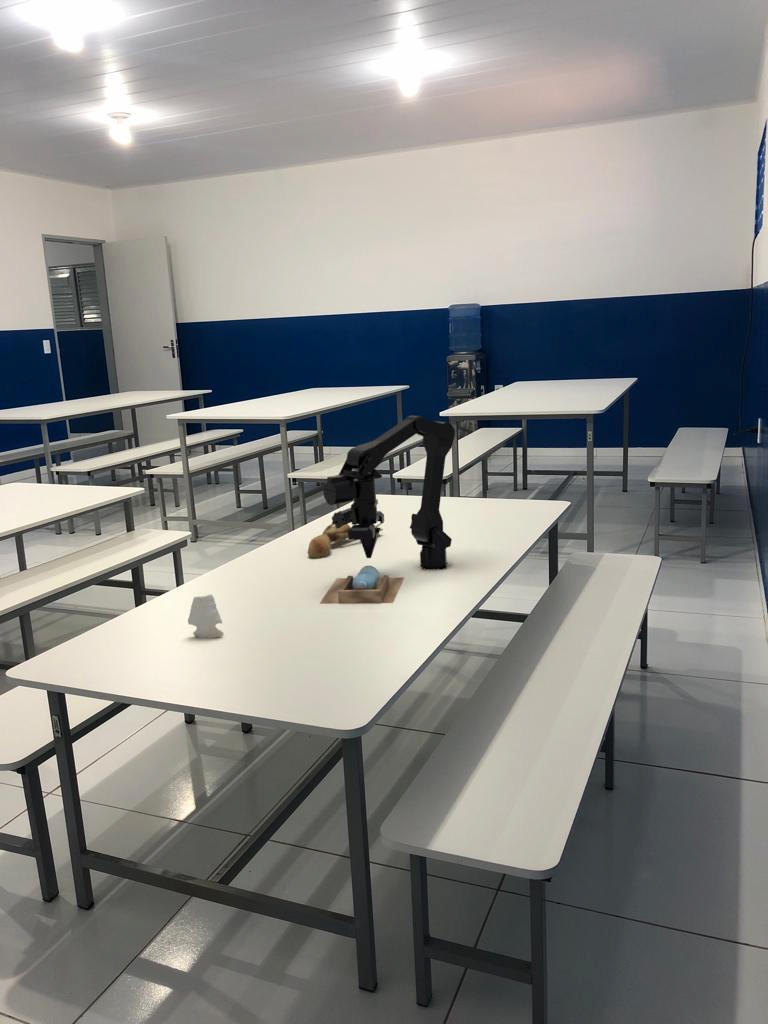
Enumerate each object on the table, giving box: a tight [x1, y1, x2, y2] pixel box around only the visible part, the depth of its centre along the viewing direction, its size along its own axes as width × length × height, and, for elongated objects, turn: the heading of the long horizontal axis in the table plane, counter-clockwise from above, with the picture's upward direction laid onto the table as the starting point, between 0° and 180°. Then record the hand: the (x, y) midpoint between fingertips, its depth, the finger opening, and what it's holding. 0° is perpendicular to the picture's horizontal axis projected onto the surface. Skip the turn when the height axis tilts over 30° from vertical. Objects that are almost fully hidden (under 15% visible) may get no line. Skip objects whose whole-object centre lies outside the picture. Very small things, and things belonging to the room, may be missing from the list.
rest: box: [319, 574, 405, 605], centre depth 211 cm, size 18×20×4 cm
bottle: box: [353, 565, 380, 590], centre depth 209 cm, size 5×5×11 cm
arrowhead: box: [187, 593, 224, 638], centre depth 186 cm, size 8×2×10 cm, turn 81°
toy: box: [307, 522, 384, 559], centre depth 257 cm, size 17×8×30 cm
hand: (369, 557), depth 214 cm, fingers closed
